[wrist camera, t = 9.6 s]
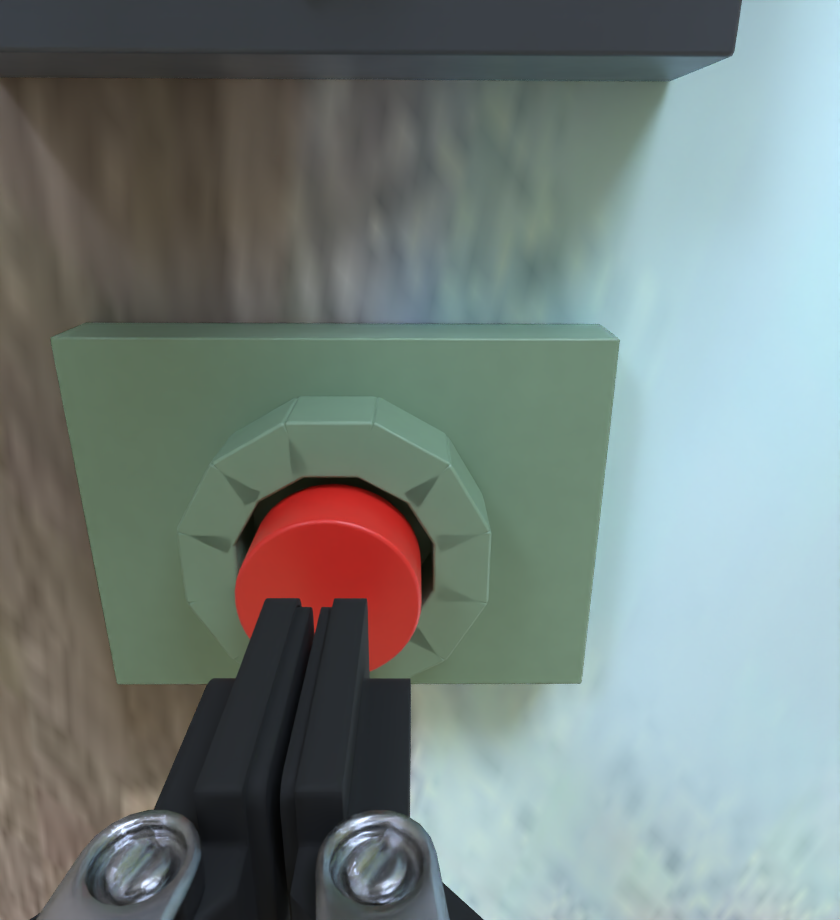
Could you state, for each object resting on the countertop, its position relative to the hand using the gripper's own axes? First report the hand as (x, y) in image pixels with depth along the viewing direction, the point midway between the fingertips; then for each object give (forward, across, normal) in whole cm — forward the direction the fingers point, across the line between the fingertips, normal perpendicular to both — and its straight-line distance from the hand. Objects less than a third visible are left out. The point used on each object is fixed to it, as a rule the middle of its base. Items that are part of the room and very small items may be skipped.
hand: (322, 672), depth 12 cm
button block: (+7, 0, 0) cm, 7 cm away
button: (+4, 0, 0) cm, 4 cm away
